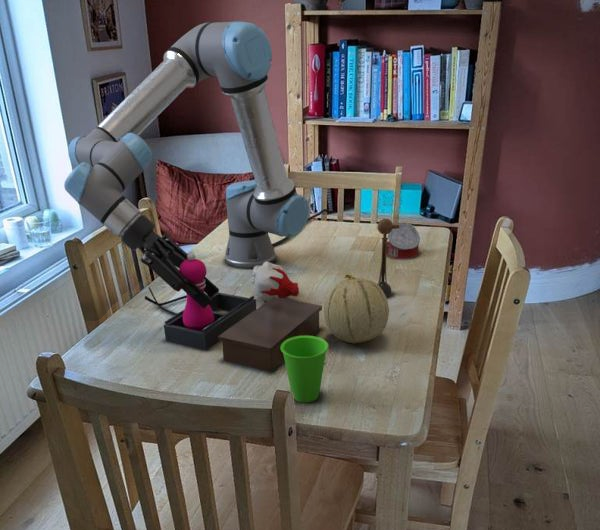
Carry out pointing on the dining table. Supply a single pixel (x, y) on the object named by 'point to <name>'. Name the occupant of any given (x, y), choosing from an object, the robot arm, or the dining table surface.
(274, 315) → the brown lidded box
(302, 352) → the cup
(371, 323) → the cantaloupe
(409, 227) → the canned food
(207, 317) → the pepper mill
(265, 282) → the red white pronged ornament
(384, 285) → the wooden tabletop sculpture
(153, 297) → the sunglasses
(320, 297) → the dining table surface
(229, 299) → the black rectangular open tray
